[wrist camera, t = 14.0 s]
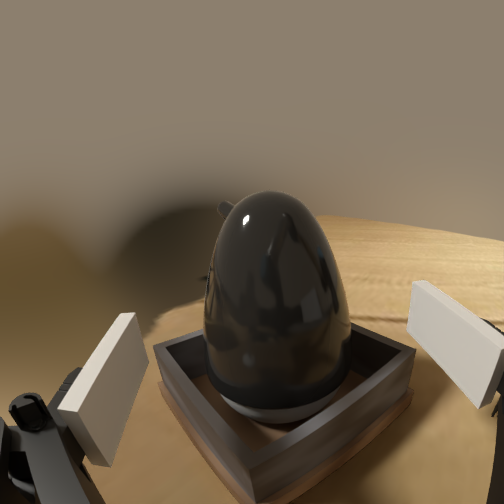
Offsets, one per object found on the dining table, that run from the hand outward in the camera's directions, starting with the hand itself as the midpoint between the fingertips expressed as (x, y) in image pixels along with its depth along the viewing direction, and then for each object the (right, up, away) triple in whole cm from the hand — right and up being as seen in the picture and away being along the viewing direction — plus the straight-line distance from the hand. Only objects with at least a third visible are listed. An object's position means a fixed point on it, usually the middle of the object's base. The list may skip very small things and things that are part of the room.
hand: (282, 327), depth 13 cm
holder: (+1, -9, +9) cm, 13 cm away
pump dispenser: (+1, -8, +8) cm, 12 cm away
